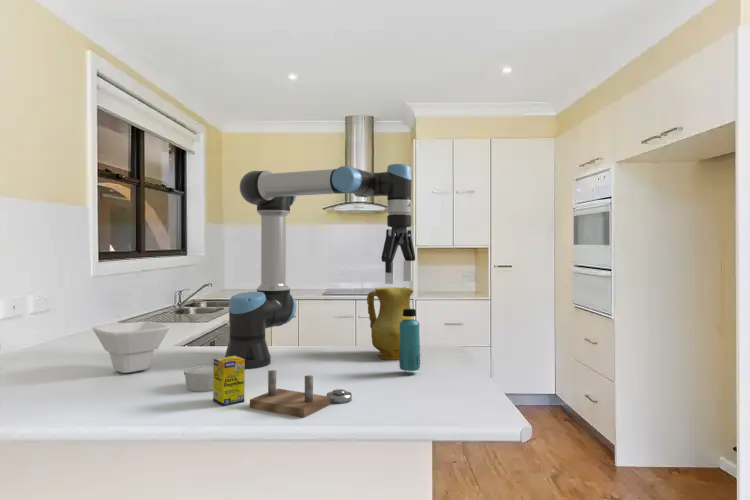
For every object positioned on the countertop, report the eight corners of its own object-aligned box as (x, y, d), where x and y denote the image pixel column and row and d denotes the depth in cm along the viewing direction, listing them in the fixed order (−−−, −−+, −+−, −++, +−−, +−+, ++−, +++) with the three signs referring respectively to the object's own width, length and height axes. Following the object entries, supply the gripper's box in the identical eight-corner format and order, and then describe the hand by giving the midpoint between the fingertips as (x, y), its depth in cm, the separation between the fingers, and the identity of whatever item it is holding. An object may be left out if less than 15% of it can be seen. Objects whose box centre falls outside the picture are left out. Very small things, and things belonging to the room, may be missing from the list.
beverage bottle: (418, 376, 159) (419, 310, 158) (397, 375, 160) (397, 309, 160) (421, 371, 165) (421, 307, 165) (400, 370, 166) (400, 307, 166)
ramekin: (182, 384, 149) (182, 366, 149) (223, 381, 153) (223, 362, 153) (185, 395, 139) (185, 375, 139) (228, 390, 143) (228, 371, 143)
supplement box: (223, 406, 129) (223, 362, 129) (212, 401, 133) (212, 358, 133) (245, 402, 133) (245, 358, 133) (234, 396, 137) (234, 355, 137)
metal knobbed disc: (321, 401, 133) (321, 392, 133) (334, 395, 139) (334, 386, 139) (343, 405, 130) (343, 395, 130) (356, 398, 136) (356, 389, 136)
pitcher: (385, 362, 175) (386, 287, 176) (361, 355, 192) (361, 286, 193) (429, 359, 183) (429, 287, 184) (401, 352, 200) (402, 286, 201)
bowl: (175, 370, 165) (175, 326, 165) (110, 382, 151) (110, 334, 150) (149, 361, 178) (149, 320, 177) (86, 371, 163) (86, 327, 163)
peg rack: (249, 407, 128) (249, 374, 128) (277, 396, 138) (277, 365, 138) (304, 417, 121) (304, 382, 121) (329, 404, 130) (329, 372, 130)
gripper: (393, 211, 151) (393, 285, 151) (425, 216, 173) (424, 280, 174) (370, 212, 155) (369, 284, 155) (404, 216, 177) (404, 279, 177)
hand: (399, 282), depth 164 cm, fingers open, 13 cm apart
